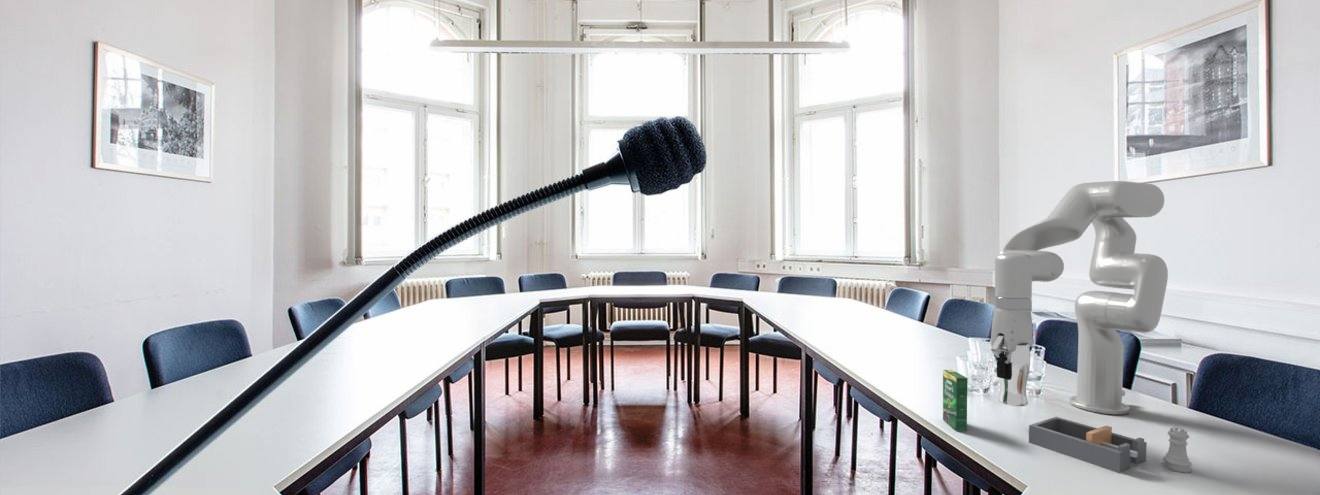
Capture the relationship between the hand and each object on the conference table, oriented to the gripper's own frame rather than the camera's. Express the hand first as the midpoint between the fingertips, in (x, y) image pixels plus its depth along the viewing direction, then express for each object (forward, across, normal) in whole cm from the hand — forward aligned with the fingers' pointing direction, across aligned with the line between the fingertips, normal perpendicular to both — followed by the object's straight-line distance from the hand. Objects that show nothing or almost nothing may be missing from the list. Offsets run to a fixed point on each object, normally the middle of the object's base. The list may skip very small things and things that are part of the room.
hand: (1013, 375), depth 132 cm
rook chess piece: (+13, -6, +29) cm, 32 cm away
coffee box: (+13, +12, -7) cm, 19 cm away
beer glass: (+7, 0, 0) cm, 7 cm away
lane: (+13, +1, +16) cm, 20 cm away
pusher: (+12, +1, +21) cm, 25 cm away
